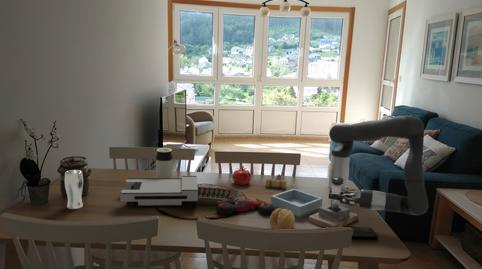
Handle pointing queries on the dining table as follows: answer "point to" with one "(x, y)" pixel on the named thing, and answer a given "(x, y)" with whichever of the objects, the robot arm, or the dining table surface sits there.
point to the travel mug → (164, 163)
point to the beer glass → (74, 188)
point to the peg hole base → (333, 217)
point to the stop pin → (336, 192)
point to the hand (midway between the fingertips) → (329, 194)
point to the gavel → (276, 182)
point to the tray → (297, 202)
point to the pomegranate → (241, 176)
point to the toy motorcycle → (244, 206)
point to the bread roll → (282, 219)
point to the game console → (161, 192)
